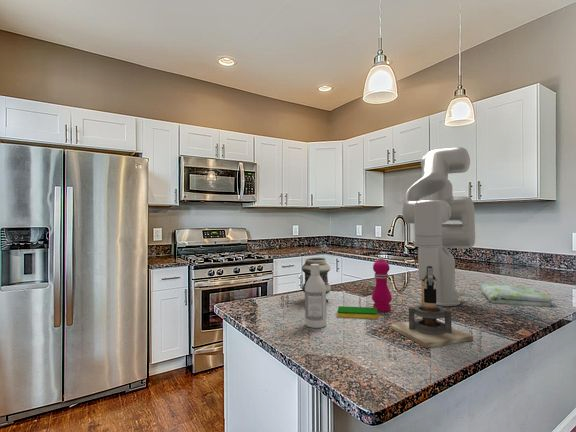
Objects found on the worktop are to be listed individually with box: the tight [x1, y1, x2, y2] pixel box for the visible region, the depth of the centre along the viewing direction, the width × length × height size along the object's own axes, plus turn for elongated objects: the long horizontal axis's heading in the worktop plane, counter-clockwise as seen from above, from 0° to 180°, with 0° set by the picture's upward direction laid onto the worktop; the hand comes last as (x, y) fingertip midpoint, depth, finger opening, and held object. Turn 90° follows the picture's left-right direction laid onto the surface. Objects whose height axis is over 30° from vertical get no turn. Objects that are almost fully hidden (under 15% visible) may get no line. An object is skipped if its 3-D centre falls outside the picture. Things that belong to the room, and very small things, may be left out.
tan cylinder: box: [420, 279, 438, 327], centre depth 97 cm, size 4×4×16 cm
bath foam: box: [304, 264, 327, 329], centre depth 107 cm, size 7×7×20 cm
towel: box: [479, 282, 553, 308], centre depth 134 cm, size 18×21×5 cm
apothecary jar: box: [301, 257, 332, 304], centre depth 136 cm, size 12×12×18 cm
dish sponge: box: [336, 306, 379, 320], centre depth 117 cm, size 7×14×2 cm, turn 78°
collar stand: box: [390, 304, 474, 349], centre depth 97 cm, size 16×16×8 cm
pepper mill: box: [371, 256, 393, 312], centre depth 123 cm, size 7×7×20 cm
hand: (429, 298), depth 97 cm, fingers open, 9 cm apart
